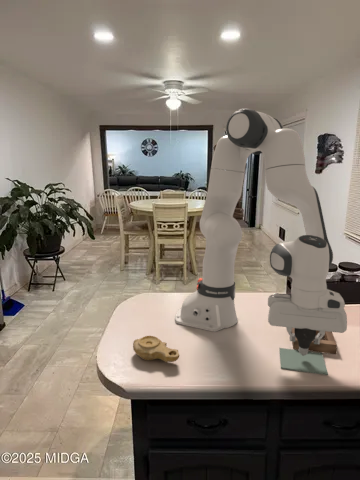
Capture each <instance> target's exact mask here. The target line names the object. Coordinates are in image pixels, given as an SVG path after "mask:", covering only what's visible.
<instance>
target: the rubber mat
mask: <svg viewBox="0 0 360 480" xmlns="http://www.w3.org/2000/svg"><path fill="white" fill-rule="evenodd" d="M279 359H280V360H279V361H280V362H279V363H280V369H281V370H288V371H295V372H303V373H308V374H309V373H310V374H311V373H312V374H316V375H325V376H329V372H328V368H327V365H326V362H325V358H324V355H323V353H322V352H314V351H308V354H307V355H304V356H303V355H301V354H300V353H299V350H298V349H293V348H292V349H291V348H284V347H279Z"/></svg>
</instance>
